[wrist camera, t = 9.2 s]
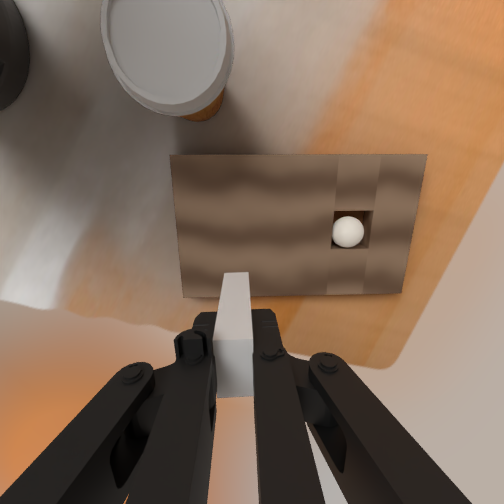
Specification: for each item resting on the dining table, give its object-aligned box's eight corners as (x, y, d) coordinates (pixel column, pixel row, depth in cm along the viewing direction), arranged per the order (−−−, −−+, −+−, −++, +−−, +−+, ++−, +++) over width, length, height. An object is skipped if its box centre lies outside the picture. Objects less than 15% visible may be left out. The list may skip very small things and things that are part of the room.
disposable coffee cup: (222, 30, 27) (208, -79, 15) (246, 123, 30) (249, 90, 18) (140, 56, 27) (66, -31, 16) (171, 146, 30) (127, 127, 19)
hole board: (175, 156, 30) (169, 154, 28) (413, 155, 31) (427, 154, 29) (187, 289, 36) (183, 297, 33) (390, 285, 37) (401, 293, 34)
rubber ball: (327, 216, 34) (344, 211, 30) (353, 221, 34) (373, 217, 31) (323, 245, 33) (340, 244, 29) (349, 249, 34) (368, 249, 30)
